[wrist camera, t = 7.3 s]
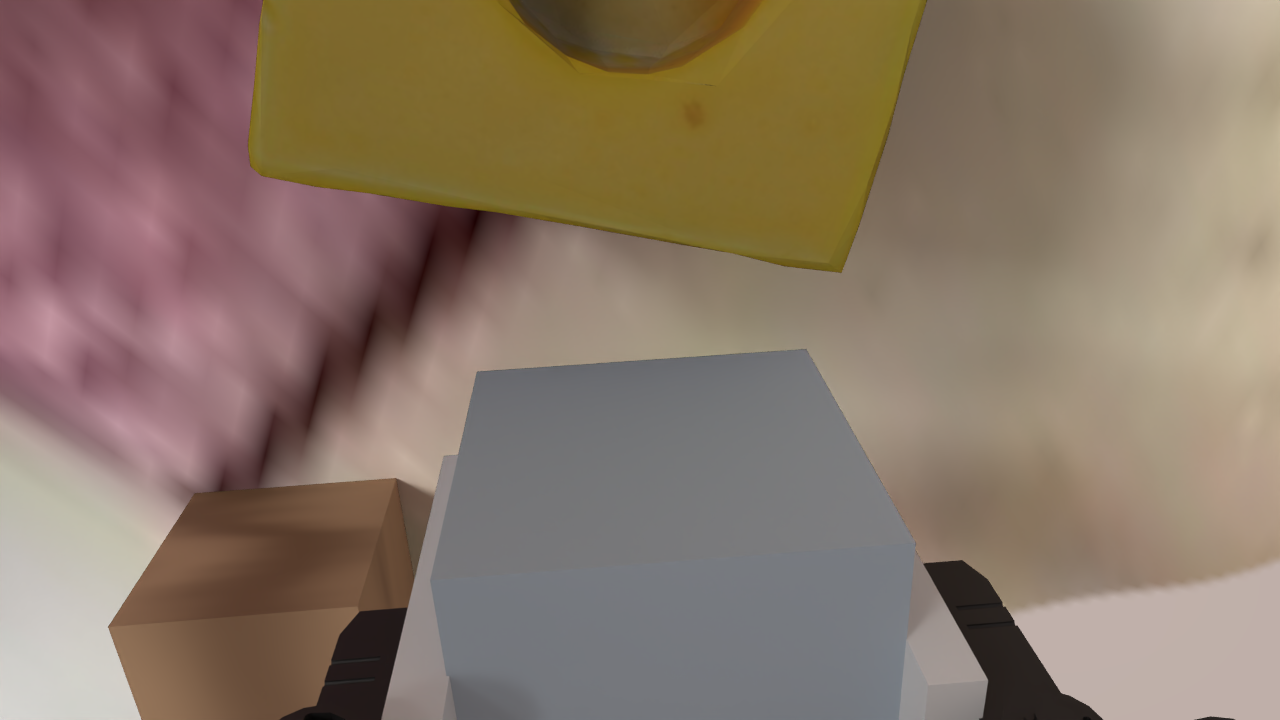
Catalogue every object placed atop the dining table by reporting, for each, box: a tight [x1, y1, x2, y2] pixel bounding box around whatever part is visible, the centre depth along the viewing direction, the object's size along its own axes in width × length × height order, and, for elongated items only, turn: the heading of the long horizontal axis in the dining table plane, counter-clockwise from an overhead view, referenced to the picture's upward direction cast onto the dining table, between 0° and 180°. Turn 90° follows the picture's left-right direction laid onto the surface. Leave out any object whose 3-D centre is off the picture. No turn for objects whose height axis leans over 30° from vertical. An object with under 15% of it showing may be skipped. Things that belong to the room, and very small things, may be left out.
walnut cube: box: [108, 478, 414, 720], centre depth 27 cm, size 6×6×6 cm
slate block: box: [430, 349, 916, 720], centre depth 15 cm, size 6×6×6 cm
